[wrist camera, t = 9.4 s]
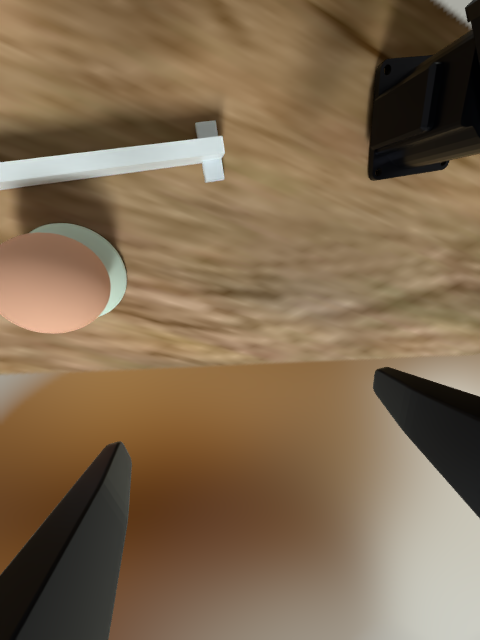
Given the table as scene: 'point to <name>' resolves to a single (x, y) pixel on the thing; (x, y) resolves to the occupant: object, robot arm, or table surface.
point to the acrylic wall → (120, 161)
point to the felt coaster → (102, 250)
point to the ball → (51, 283)
